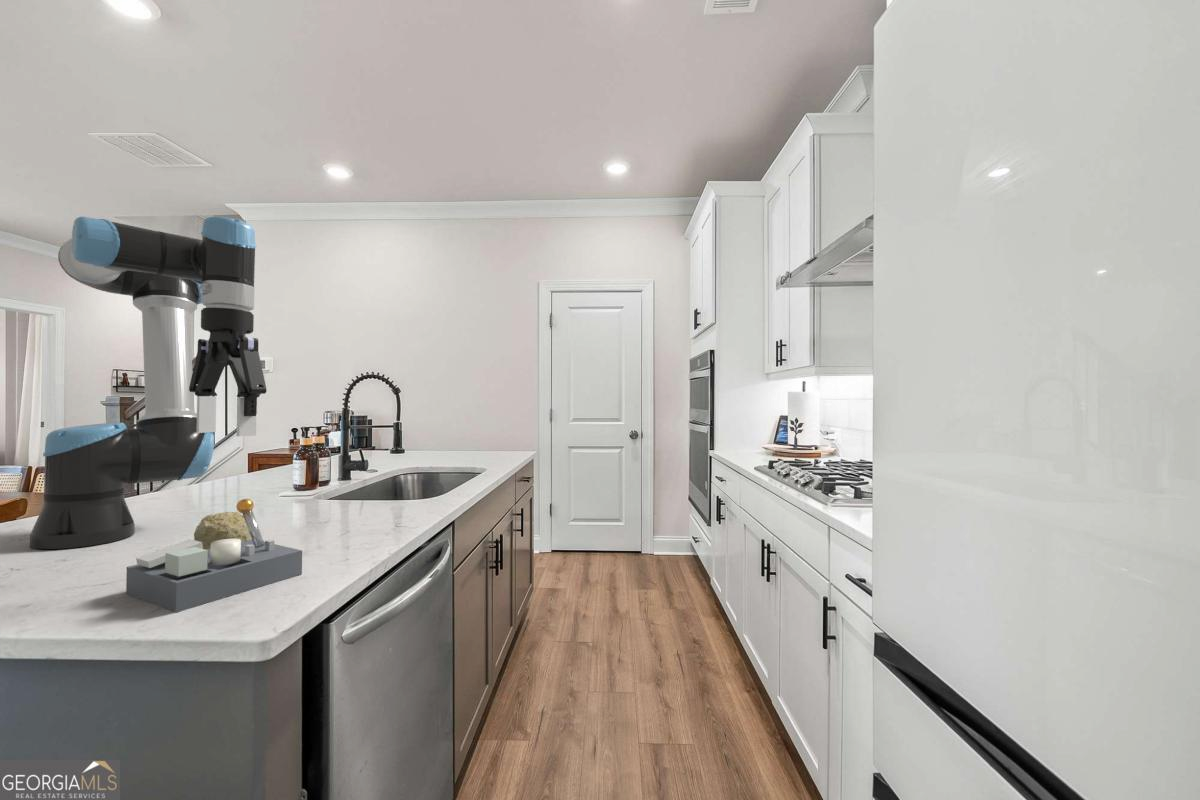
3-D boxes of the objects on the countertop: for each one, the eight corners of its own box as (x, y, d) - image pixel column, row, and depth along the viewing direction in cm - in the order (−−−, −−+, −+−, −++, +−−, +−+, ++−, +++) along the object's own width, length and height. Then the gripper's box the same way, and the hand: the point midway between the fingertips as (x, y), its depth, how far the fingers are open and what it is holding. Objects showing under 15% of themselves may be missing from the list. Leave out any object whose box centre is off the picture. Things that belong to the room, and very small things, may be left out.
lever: (248, 551, 86) (231, 504, 88) (263, 547, 88) (246, 502, 90) (256, 544, 85) (238, 497, 87) (270, 540, 87) (253, 495, 89)
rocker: (137, 564, 78) (135, 558, 78) (190, 544, 84) (189, 539, 84) (149, 568, 76) (148, 561, 76) (203, 548, 82) (201, 542, 82)
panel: (126, 593, 78) (126, 554, 78) (252, 561, 94) (252, 529, 94) (176, 612, 72) (176, 569, 72) (301, 574, 88) (302, 539, 88)
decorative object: (251, 564, 103) (236, 519, 106) (268, 544, 98) (251, 497, 101) (195, 581, 96) (180, 532, 98) (209, 561, 90) (193, 509, 93)
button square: (165, 572, 75) (165, 552, 75) (193, 565, 78) (194, 546, 78) (178, 576, 73) (178, 556, 73) (207, 569, 77) (207, 550, 77)
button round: (204, 562, 80) (205, 543, 80) (231, 556, 83) (232, 537, 83) (218, 566, 78) (219, 546, 78) (245, 559, 81) (246, 540, 81)
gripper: (166, 309, 93) (164, 431, 93) (246, 301, 83) (243, 438, 83) (213, 316, 100) (210, 430, 100) (292, 309, 90) (289, 436, 90)
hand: (225, 434), depth 92 cm, fingers open, 11 cm apart
